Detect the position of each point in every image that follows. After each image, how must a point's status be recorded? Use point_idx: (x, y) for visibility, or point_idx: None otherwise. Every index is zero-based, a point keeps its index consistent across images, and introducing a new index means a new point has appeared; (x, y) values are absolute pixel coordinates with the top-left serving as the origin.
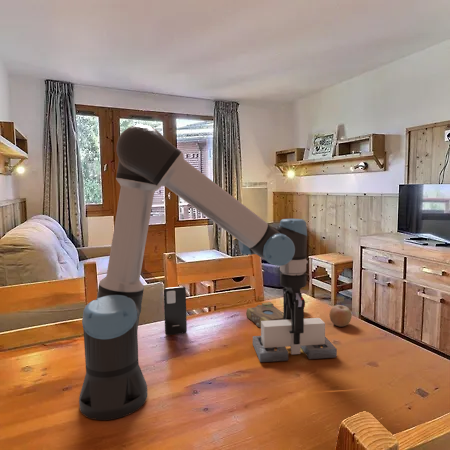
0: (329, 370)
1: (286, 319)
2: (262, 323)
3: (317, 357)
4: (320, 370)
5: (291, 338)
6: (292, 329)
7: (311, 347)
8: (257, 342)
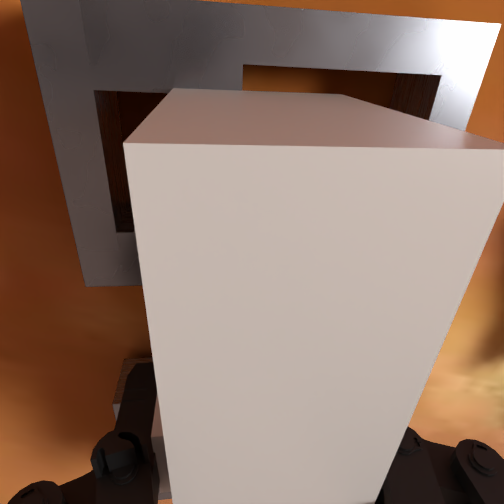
0: (14, 407)
1: (391, 491)
2: (364, 150)
3: None
4: (7, 375)
5: None
6: (125, 489)
7: None
8: (328, 41)
